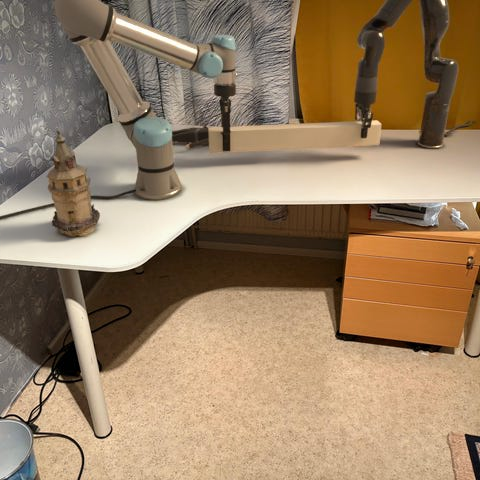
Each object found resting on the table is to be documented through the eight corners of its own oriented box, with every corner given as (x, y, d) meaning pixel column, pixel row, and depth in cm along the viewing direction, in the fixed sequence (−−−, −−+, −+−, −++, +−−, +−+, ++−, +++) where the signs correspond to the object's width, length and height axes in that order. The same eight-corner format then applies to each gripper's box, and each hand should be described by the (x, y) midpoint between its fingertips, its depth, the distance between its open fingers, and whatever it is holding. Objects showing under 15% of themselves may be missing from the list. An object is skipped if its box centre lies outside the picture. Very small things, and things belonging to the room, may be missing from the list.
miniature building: (80, 214, 164) (63, 117, 149) (111, 225, 157) (96, 125, 142) (44, 231, 154) (22, 130, 140) (75, 244, 147) (55, 139, 133)
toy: (166, 118, 231) (234, 118, 225) (168, 133, 234) (235, 133, 228) (145, 138, 209) (219, 138, 203) (147, 153, 212) (221, 154, 206)
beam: (209, 153, 193) (208, 131, 189) (209, 148, 197) (208, 127, 193) (379, 145, 197) (381, 124, 193) (375, 140, 202) (377, 120, 198)
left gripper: (237, 89, 176) (238, 156, 187) (233, 77, 192) (234, 139, 203) (214, 90, 175) (217, 157, 187) (212, 77, 191) (214, 140, 203)
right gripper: (383, 93, 183) (377, 141, 192) (370, 83, 196) (365, 129, 204) (361, 94, 183) (356, 142, 191) (350, 84, 195) (346, 129, 203)
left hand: (226, 148), depth 195 cm, fingers closed on beam, 5 cm apart
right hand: (361, 135), depth 197 cm, fingers closed on beam, 5 cm apart
